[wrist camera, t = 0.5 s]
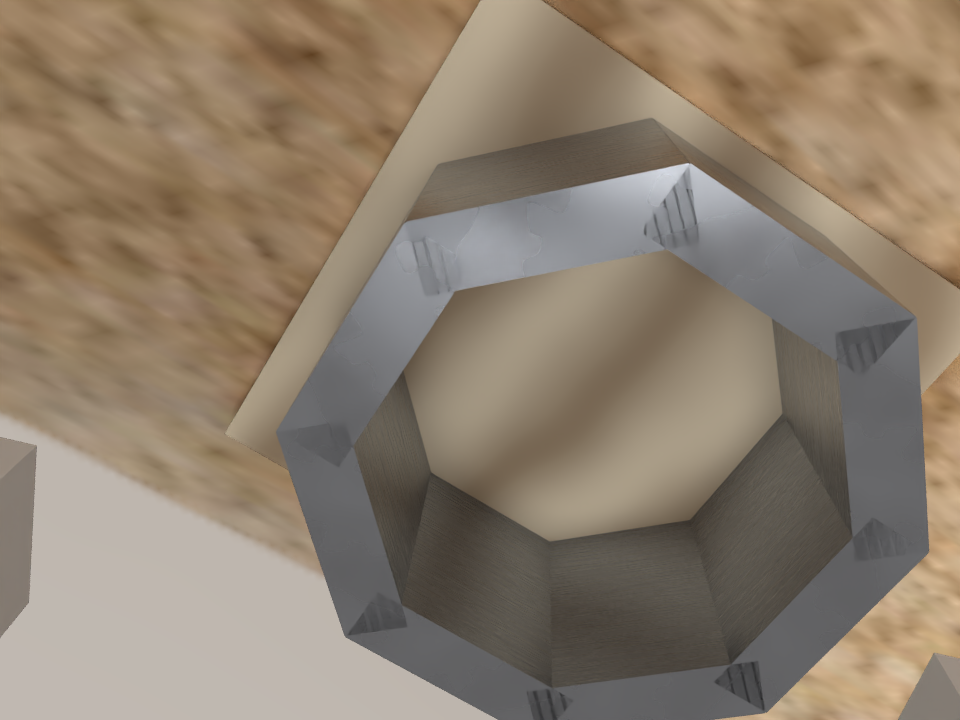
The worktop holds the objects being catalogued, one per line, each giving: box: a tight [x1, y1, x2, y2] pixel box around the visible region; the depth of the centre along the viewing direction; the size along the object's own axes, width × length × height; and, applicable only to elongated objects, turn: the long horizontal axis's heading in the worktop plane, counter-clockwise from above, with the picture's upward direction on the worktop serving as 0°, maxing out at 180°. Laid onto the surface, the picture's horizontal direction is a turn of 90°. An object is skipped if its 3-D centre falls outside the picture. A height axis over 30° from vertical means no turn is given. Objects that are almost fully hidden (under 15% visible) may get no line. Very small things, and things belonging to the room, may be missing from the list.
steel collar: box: [276, 118, 929, 720], centre depth 29 cm, size 17×17×8 cm
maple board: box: [225, 0, 960, 541], centre depth 34 cm, size 20×19×2 cm
